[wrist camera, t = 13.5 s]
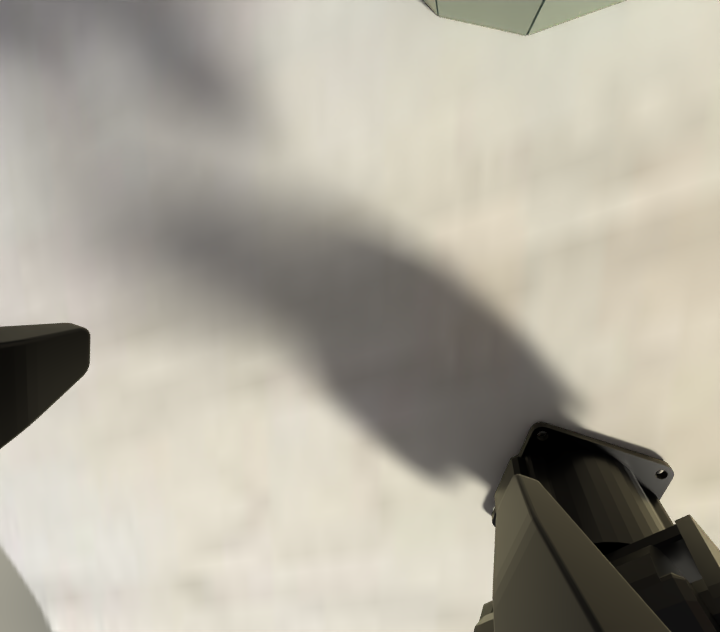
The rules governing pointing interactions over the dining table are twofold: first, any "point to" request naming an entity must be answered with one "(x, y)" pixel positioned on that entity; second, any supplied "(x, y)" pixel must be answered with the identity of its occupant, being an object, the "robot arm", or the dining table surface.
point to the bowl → (516, 12)
